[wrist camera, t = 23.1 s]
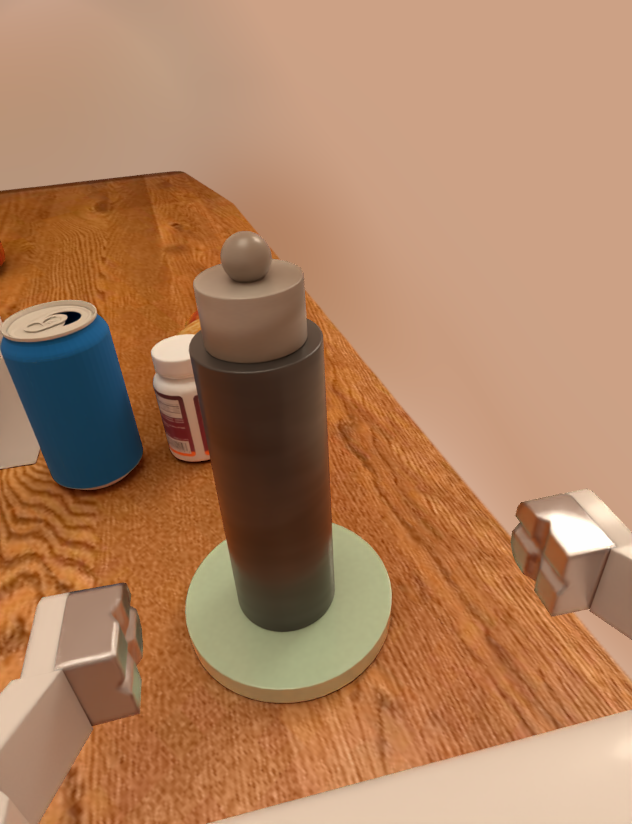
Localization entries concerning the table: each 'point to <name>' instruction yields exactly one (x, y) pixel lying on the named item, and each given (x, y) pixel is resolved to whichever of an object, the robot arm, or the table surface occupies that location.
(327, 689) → the disc
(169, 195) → the table surface
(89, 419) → the beverage can
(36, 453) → the architectural model
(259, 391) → the pepper mill
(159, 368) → the pill bottle
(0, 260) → the planter
